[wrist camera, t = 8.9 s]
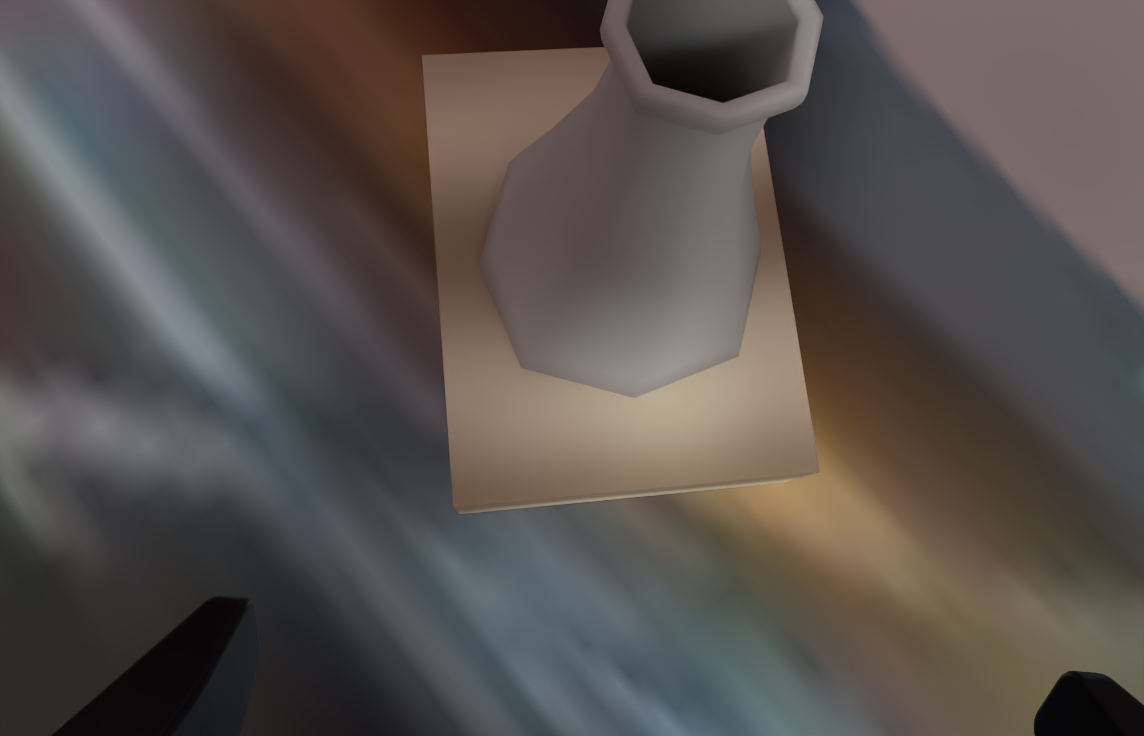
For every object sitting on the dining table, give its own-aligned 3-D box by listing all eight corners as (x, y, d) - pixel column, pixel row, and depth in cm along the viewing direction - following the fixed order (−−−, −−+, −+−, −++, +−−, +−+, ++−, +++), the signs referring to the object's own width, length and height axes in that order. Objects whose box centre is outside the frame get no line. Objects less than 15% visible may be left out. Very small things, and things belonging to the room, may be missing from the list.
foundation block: (781, 482, 24) (819, 472, 21) (459, 514, 23) (453, 507, 20) (722, 98, 26) (749, 40, 23) (431, 113, 25) (421, 55, 22)
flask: (485, 408, 20) (467, 271, 11) (472, 136, 22) (446, -198, 12) (774, 391, 21) (1005, 249, 11) (741, 129, 23) (918, -194, 13)
